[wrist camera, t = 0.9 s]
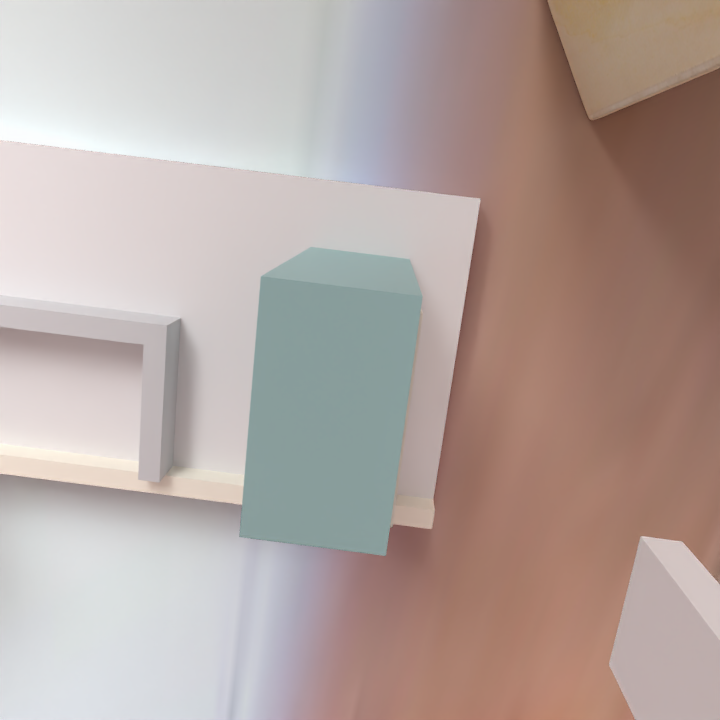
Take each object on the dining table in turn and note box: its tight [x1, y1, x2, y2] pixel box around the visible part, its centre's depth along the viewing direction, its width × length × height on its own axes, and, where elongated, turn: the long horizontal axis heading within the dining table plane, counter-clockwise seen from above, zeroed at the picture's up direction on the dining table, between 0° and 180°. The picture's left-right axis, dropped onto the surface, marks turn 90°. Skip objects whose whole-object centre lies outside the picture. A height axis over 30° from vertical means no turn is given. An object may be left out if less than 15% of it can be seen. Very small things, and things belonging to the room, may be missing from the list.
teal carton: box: [239, 247, 423, 556], centre depth 25 cm, size 5×8×12 cm, turn 173°
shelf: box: [0, 140, 481, 529], centre depth 31 cm, size 16×36×4 cm, turn 83°
